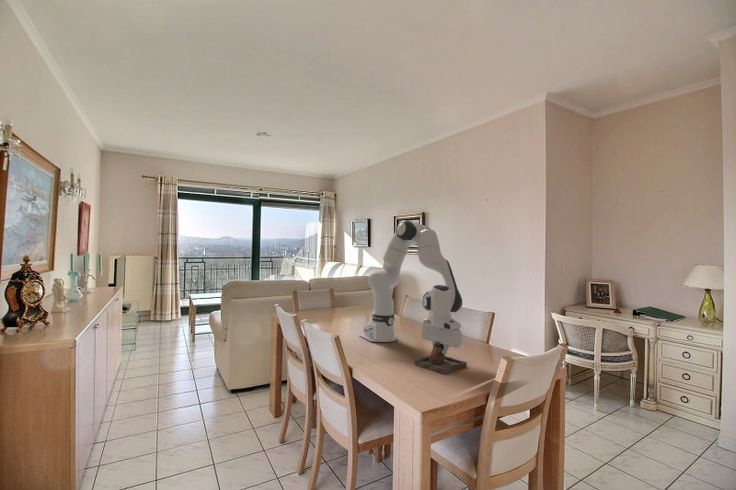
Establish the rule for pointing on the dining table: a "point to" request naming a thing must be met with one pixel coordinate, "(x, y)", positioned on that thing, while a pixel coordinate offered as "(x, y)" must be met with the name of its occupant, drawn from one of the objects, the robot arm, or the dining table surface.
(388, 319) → the robot arm
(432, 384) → the dining table surface
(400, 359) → the dining table surface
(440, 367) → the dark brown tray
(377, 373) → the dining table surface
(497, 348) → the dining table surface
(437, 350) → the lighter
